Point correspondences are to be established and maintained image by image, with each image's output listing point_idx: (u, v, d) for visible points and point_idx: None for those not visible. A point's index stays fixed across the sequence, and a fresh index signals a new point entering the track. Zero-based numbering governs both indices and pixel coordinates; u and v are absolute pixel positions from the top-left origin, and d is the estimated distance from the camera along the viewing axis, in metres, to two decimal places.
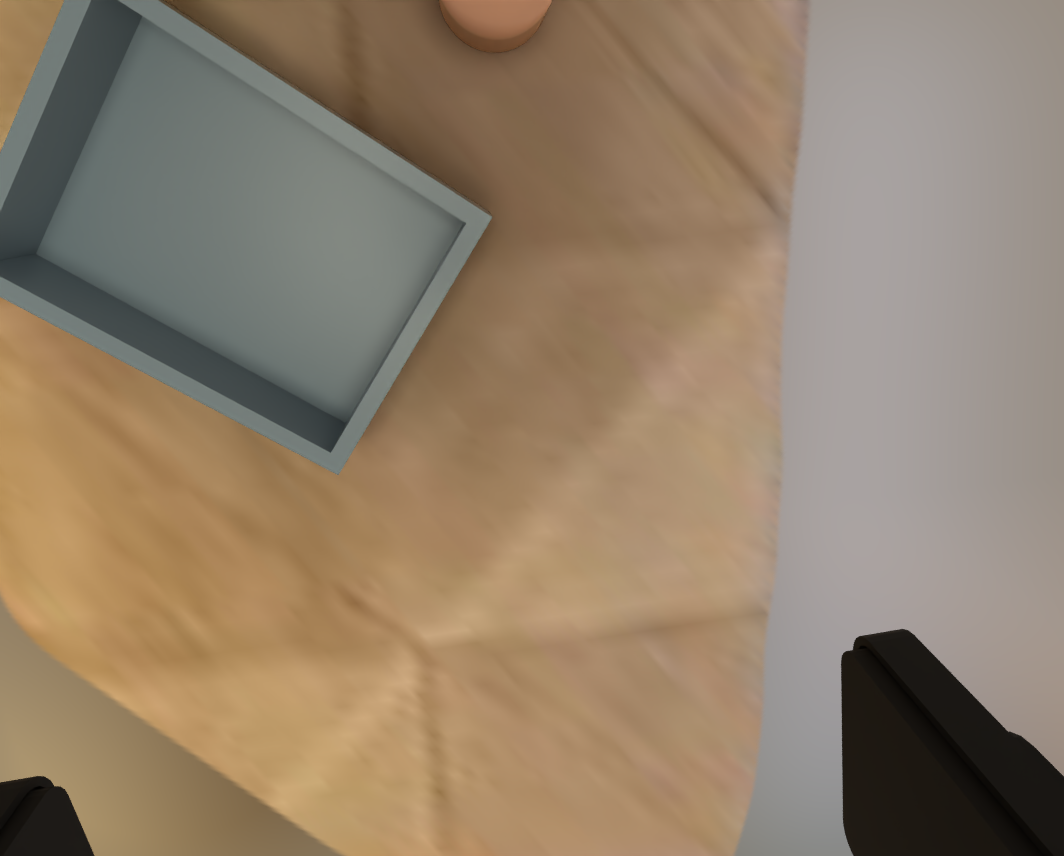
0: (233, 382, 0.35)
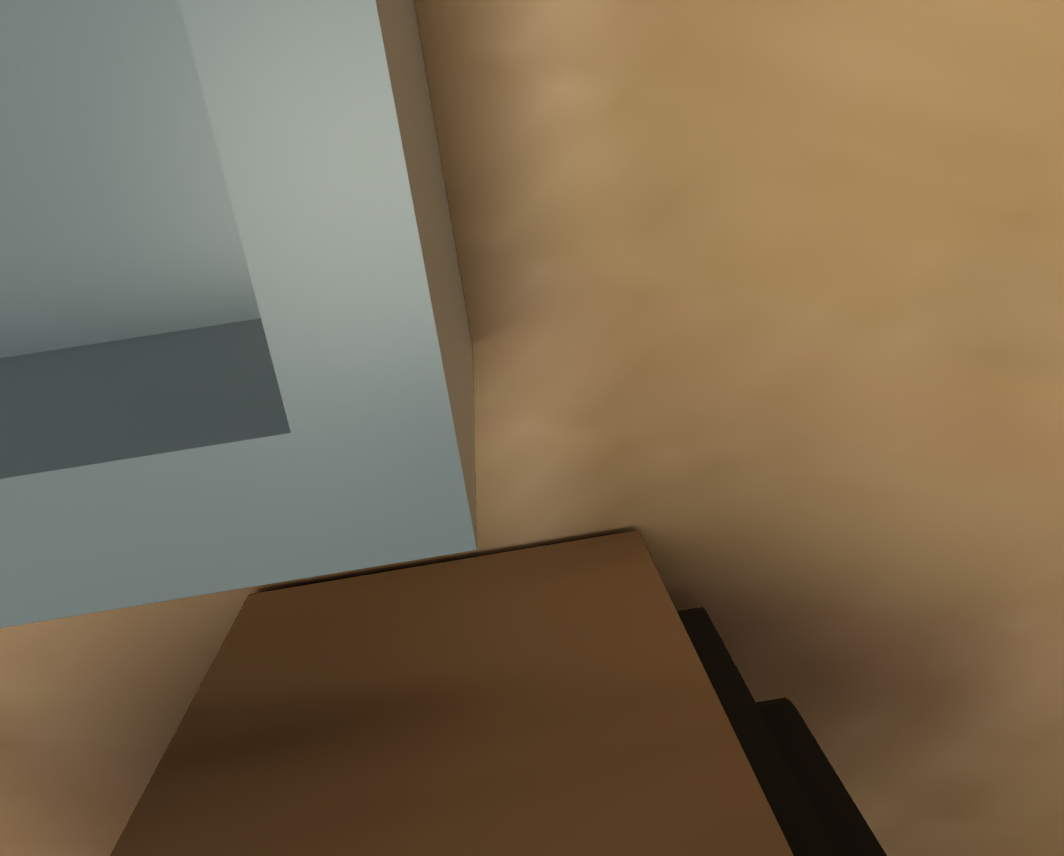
0: None
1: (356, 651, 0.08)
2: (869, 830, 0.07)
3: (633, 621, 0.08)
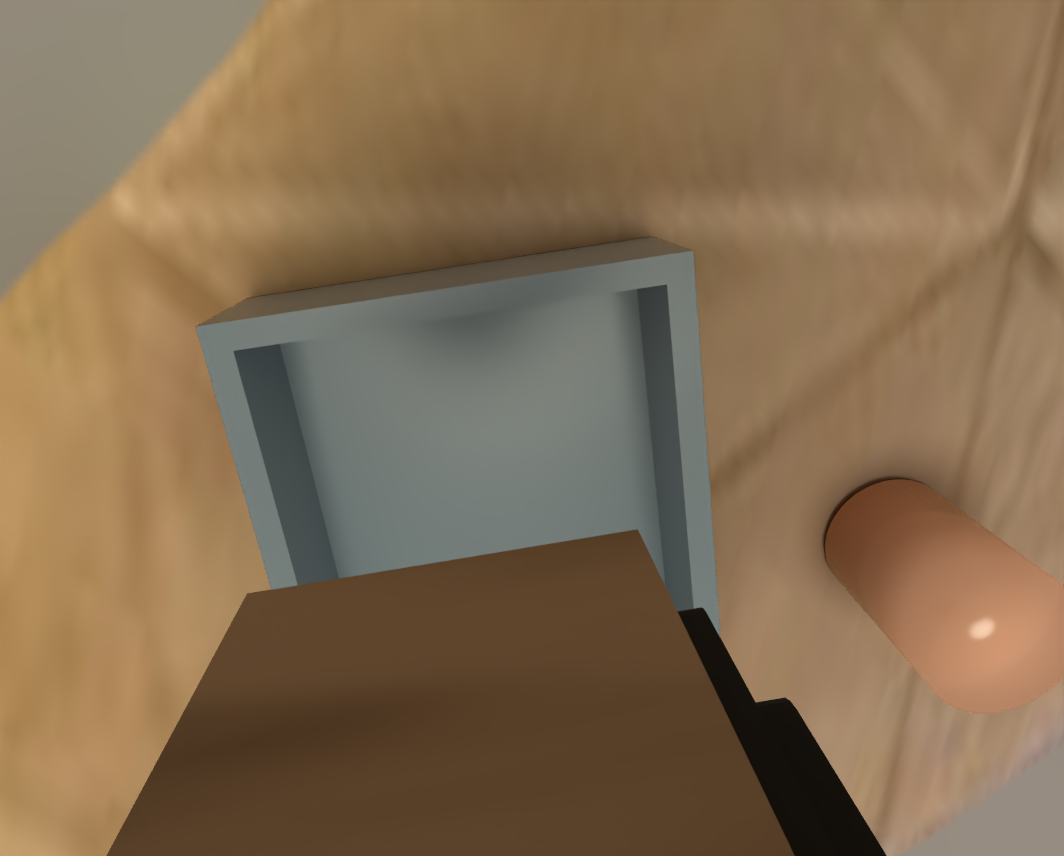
0: None
1: (354, 650, 0.08)
2: (869, 830, 0.07)
3: (634, 620, 0.08)
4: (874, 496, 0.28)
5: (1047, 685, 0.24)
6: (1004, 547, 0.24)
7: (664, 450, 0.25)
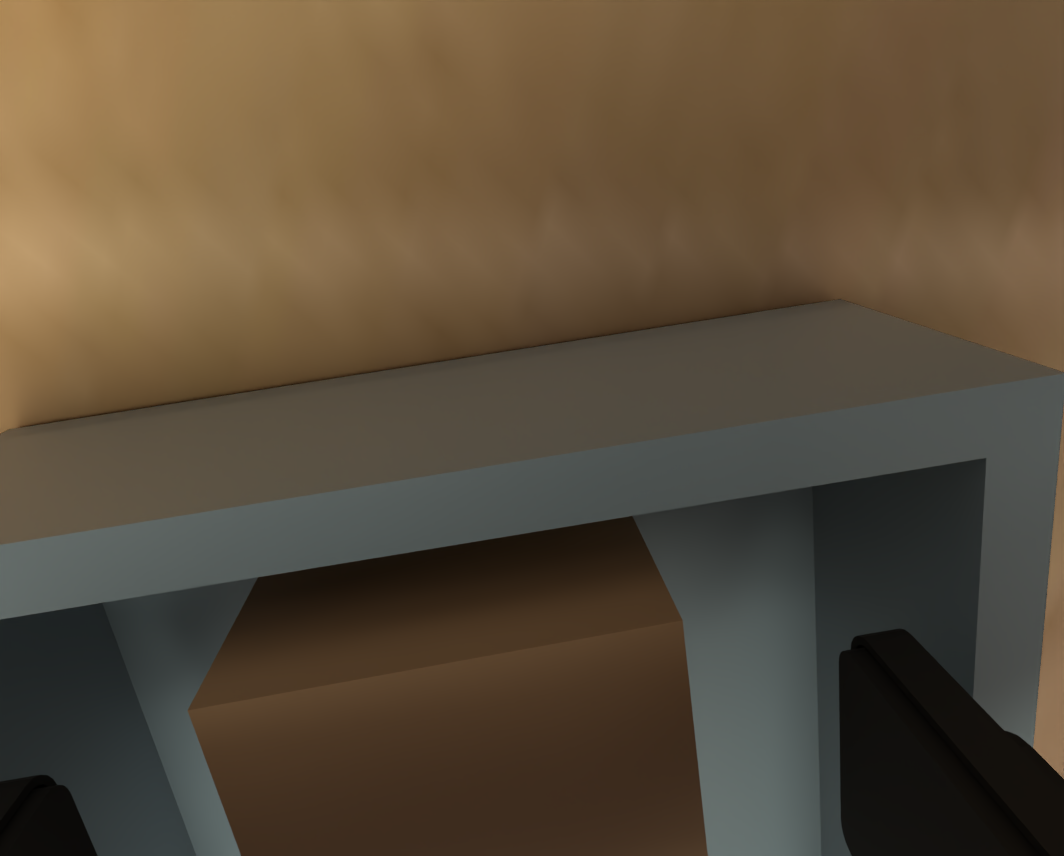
0: None
1: None
2: None
3: None
4: None
5: None
6: None
7: None
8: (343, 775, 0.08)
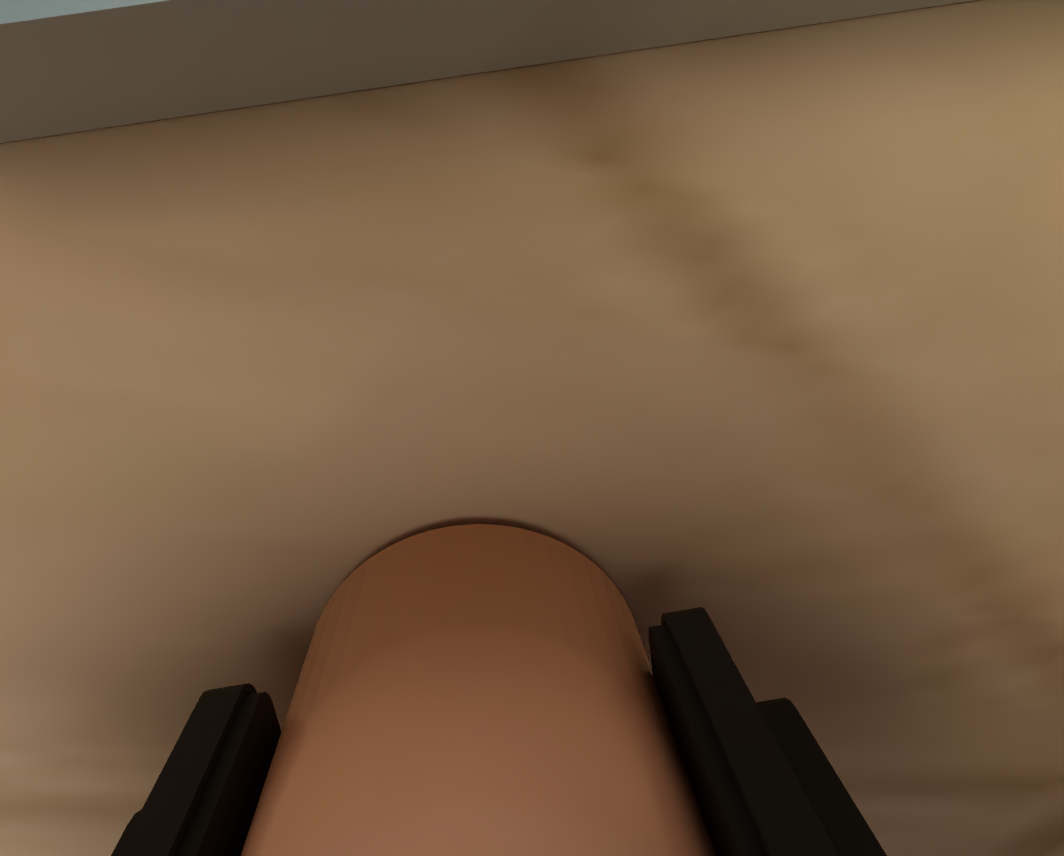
0: None
1: None
2: (869, 830, 0.07)
3: None
4: None
5: None
6: None
7: None
8: None
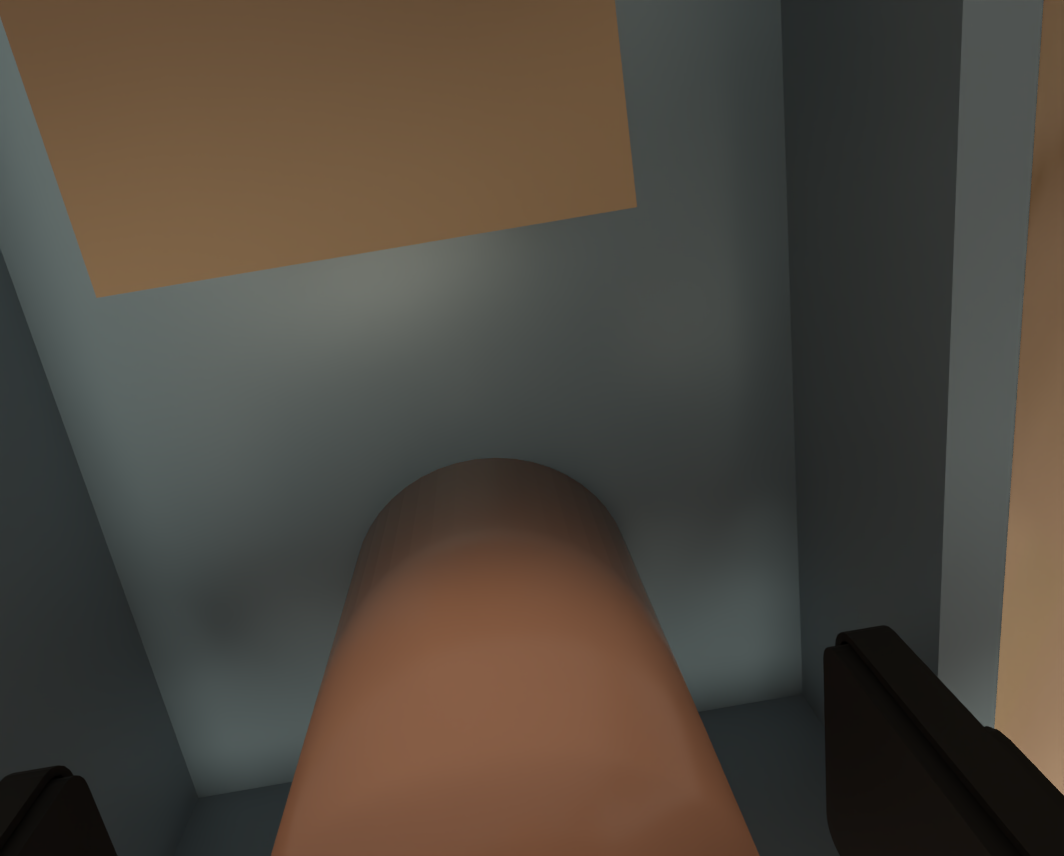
0: (31, 632, 0.11)
1: None
2: None
3: None
4: None
5: None
6: None
7: (848, 148, 0.10)
8: None
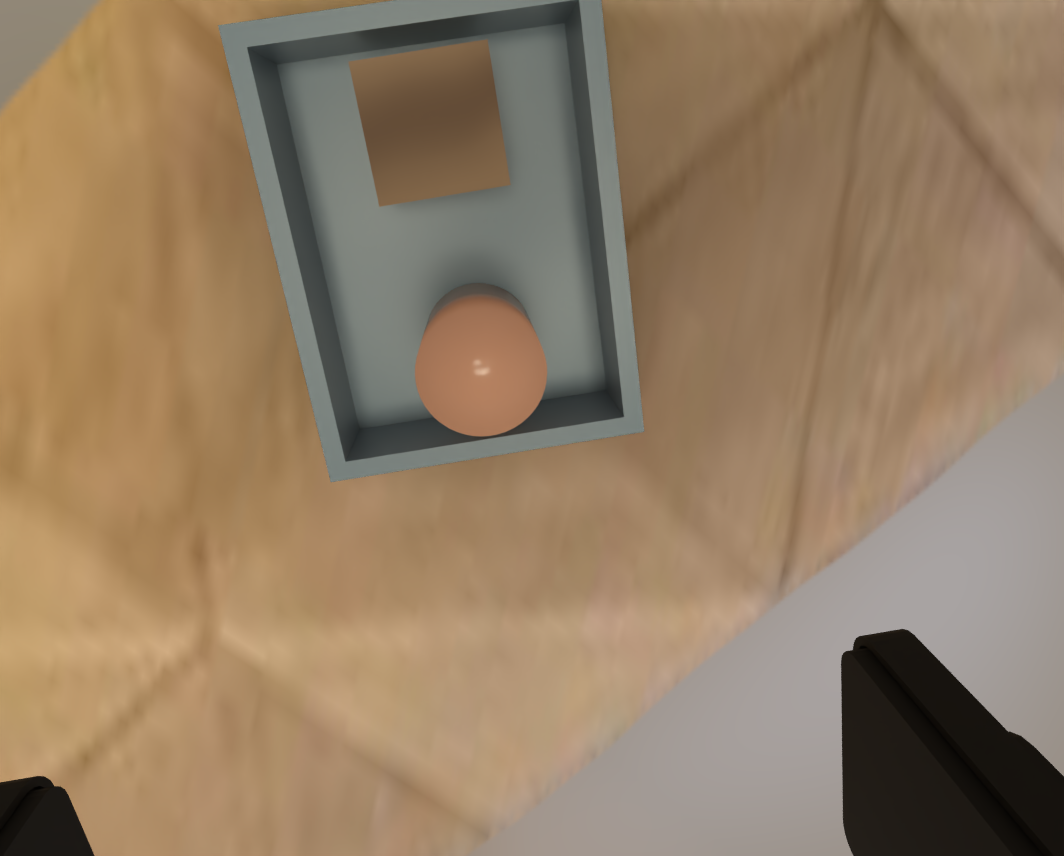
0: (324, 328, 0.32)
1: None
2: None
3: None
4: None
5: (432, 408, 0.29)
6: None
7: (588, 168, 0.31)
8: (391, 89, 0.27)
